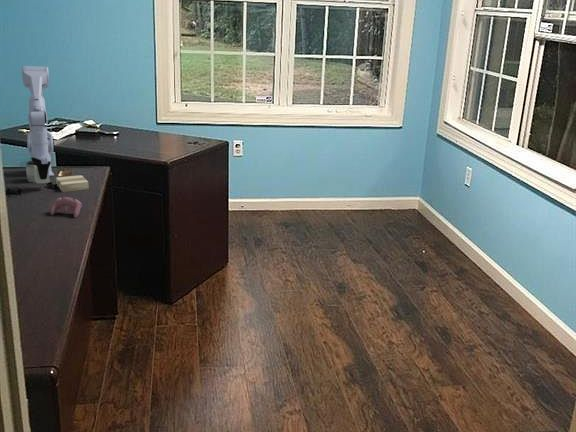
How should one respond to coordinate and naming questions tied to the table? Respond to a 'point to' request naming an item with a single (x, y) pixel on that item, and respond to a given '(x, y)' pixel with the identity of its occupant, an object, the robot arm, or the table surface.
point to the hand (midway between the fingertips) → (41, 177)
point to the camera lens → (30, 171)
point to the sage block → (37, 177)
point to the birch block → (72, 183)
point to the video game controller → (66, 201)
